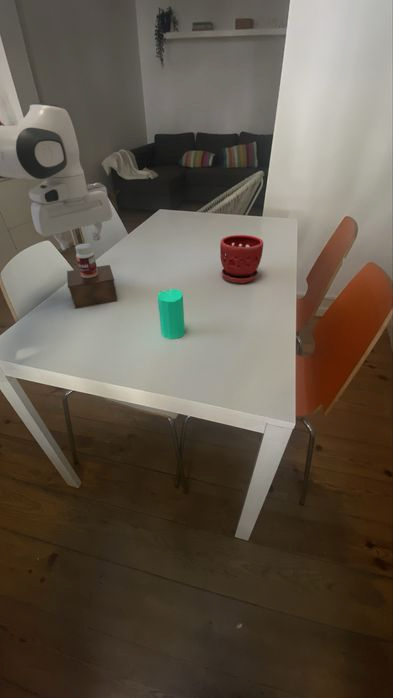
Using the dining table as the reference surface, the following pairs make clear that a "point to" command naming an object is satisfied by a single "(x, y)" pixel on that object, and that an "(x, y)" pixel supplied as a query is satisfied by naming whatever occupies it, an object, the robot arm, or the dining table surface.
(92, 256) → the pill bottle
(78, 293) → the walnut box
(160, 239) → the dining table surface
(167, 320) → the candle
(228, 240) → the flower pot
